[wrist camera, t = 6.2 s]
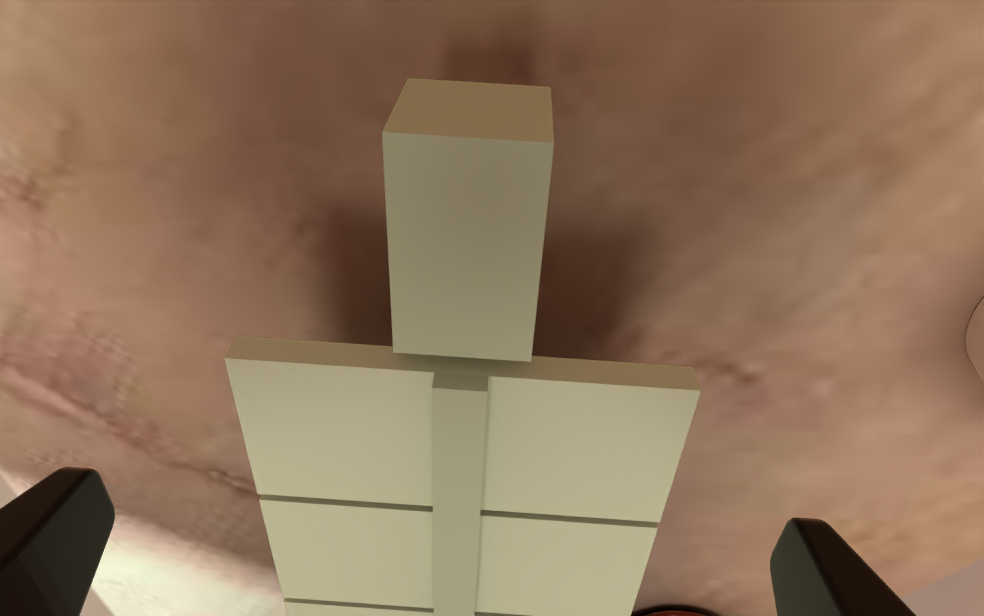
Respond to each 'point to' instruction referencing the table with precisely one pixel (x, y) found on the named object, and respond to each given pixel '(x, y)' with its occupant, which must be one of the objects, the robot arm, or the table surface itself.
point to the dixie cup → (976, 339)
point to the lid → (460, 403)
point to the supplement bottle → (675, 613)
